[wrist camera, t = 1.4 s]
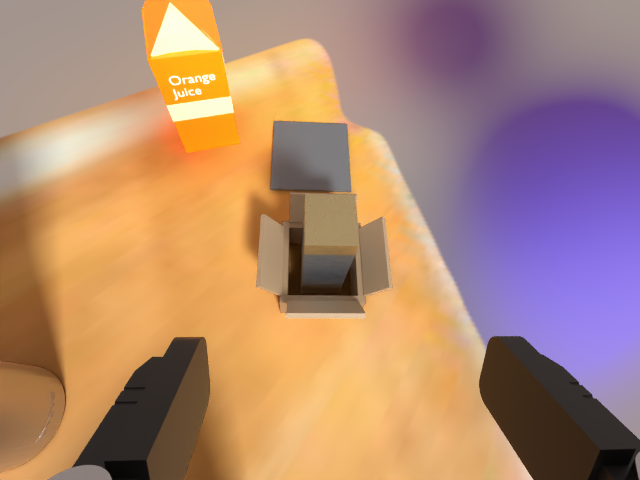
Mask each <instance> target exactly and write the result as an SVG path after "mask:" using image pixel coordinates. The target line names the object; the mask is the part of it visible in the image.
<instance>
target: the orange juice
mask: <svg viewBox="0 0 640 480" xmlns="http://www.w3.org/2000/svg"><path fill="white" fill-rule="evenodd" d="M142 17H143V25H144V33H145V42H146V50H147V58H148V62H149V64H150V67H151V69H152V71H153V74H154V76H155V78H156V80H157V83H158V86H159V88H160V90H161V93H162V95H163V97H164V100H165V102H166V105H167V108H168V110H169V113H170V115H171V117H172V120H173V122H174V124H175V126H176V128H177V131H178V133H179V135H180V138H181V140H182V143H183V145H184V147H185V150H186V152H187V153H189V152H194V151H200V150H206V149H212V148H218V147H224V146H230V145H236V144H240V142H239V137H238V132H237V127H236V122H235V117H234V110H233V105H232V100H231V96H230V91H229V87H228V82H227V77H226V72H225V68H226V67H224V62H223V57H222V52H223V50H222V46H221V42H220V39H219V35H218V30H217V27H216V23H215V19H214V15H213V11H212V7H211V3H210V2H208V0H145V3H144V6H143V8H142ZM221 51H222V52H221Z"/></svg>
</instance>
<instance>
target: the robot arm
mask: <svg viewBox="0 0 640 480" xmlns="http://www.w3.org/2000/svg"><path fill="white" fill-rule="evenodd" d="M479 388H480V393H481V397H482V400H483V402H484V404H485V405H486V407H487V408H488V410H489V412H490V413H491V415H492V416H493V418H494V419H495V421H496V422H497V424H498V425H499V427H500V429H501V430H502V432H503V433H504V435H505V436H506V438H507V439H508V441H509V443H510V444H511V446H512V447H513V449H514V450H515V452H516V453H517V455H518V457H519V458H520V460H521V461H522V463H523V464H524V466H525V467H526V469H527V471H528V472H529V474H530V475H531V477H532V478H533V480H640V440H639V439H638V438H637V437H636V436H635V435H634V434H633V433H632V432H631V431H630V430H629V429H627V428H626V427H625V426H624V425H623V424H622V423H621V422H620V421H619V420H618V419H617V418H616V417H615V416H614V415H613V414H612V413H611V412H610V411H609V410H608V409H606V408H605V407H604V406H603V405H602V404H601V403H600V402H599V401H598V400H597V399H593V397H592V394H591V393H590V392H589V391H587V390H586V389H585V388H584V387H583V386H582V385H579V382H578V381H577V380H576V379H575V378H574V377H573V376H572V375H571V374H570V373H569V372H567V371H566V370H565V369H564V368H563V367H562V366H560V365H559V364H557V363H555V362H554V361H552V360H550V359H549V358H547V357H546V356H544V355H541V354H540V353H539V352H537V350H536V349H535V348H534V347H533V346H532V345H530V343H529V342H527V340H525V339H524V338H523V337H520V336H496V337H495V336H494V337H492V338H490V340H489V342H488V345H487V350H486V354H485V358H484V363H483V367H482V371H481V375H480V380H479ZM209 394H210V378H209V367H208V356H207V345H206V340H205V338H204V337H176V338H174V339H173V341H172V342H171V344H170V346H169V348H168V349H167V351H166V353H165V355H164V356H163V357H152V358H150V359H149V360H148V361H147V362H145V363H144V364H143V365H142V366H140V367H139V368H138V369H137V370H136V371H135V372H134V373H133V375H132V376H131V378H130V379H129V381H128V382H127V384H126V386H125V387H124V391H122V392H121V393H120V395H119V396H118V398H117V399H116V401H115V405H113V406H112V407H111V409H110V410H109V412H108V413H107V415H106V416H105V418H104V419H103V421H102V422H101V424H100V425H99V427H98V429H97V430H96V432H95V433H94V435H93V436H92V438H91V439H90V441H89V442H88V444H87V445H86V447H85V449H84V450H83V452H82V453H81V455H80V456H79V458H78V459H77V461H76V462H75V464H74V465H73V467H72V468H70V469H67V470H65V471H63V472H60V473H58V474H56V475H55V476H53V477H51V478H50V479H48V480H184V478H185V475H186V472H187V469H188V465H189V462H190V459H191V456H192V453H193V450H194V447H195V444H196V440H197V437H198V434H199V431H200V428H201V425H202V422H203V419H204V415H205V412H206V409H207V406H208V401H209ZM64 408H65V393H64V390H63V386H62V384H61V382H60V381H59V379H58V378H57V377H56V376H55V375H54V374H53V373H52V372H51V371H49V370H47V369H45V368H42V367H37V366H31V365H24V364H17V363H11V362H4V361H0V472H3V471H7V470H11V469H14V468H16V467H18V466H20V465H23V464H24V463H26V462H27V461H29V460H30V459H32V458H33V457H35V456H36V455H37V454H38V453H39V452H40V451H41V450H43V449H44V448H45V446H46V445H47V444H48V443H49V441H50V440H51V439H52V438H53V436H54V434H55V433H56V431H57V429H58V427H59V425H60V423H61V420H62V417H63V414H64Z"/></svg>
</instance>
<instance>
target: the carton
mask: <svg viewBox="0 0 640 480" xmlns="http://www.w3.org/2000/svg"><path fill="white" fill-rule="evenodd" d="M305 194H331V195H355V196H356V200H357V195H356V194H334V193H299V192H290V211H289V221H282V225H281V224H279V223H278V222H276V221H275V220H273V219H272V218H270V217H268V216H267V215H265V214H263V215H261V221H260V236H259V251H258V265H257V280H256V287H257V288H260V289H262V290H265V291H267V292H270V293H273V294H275V295H280V302H279V303H280V311H281V313H286V318H365V312H364V310H363V307H364V305H365V304H366V296H369V295H373V294H376V293H379V292H382V291H386V290H389V289H392V288H393V287H392V278H391V269H390V259H389V250H388V241H387V232H386V222H385V218H384V217H381V218H379V219H377V220H375V221H373V222H371V223H369V224H367V225H365V226H363V227H361V226H360V223H357V226H358V240H359V247H358V250H357V252H356V254H355V257H354V259H353V261H352V264H351V266H350V287H351V296H329V295H288V283H289V245H290V244H302V235H303V219H304V203H305Z"/></svg>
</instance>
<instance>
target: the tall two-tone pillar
mask: <svg viewBox="0 0 640 480" xmlns="http://www.w3.org/2000/svg"><path fill="white" fill-rule="evenodd" d="M358 247H359V240H358V226H357V211H356V196H355V195H331V194H305V203H304V219H303V235H302V251H301V294H339V292H340V289H341V287H342V285H343V282H344V280H345V278H346V275H347V273H348V271H349V268H350V266H351V264H352V261H353V259H354V257H355V254H356V252H357V250H358Z"/></svg>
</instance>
